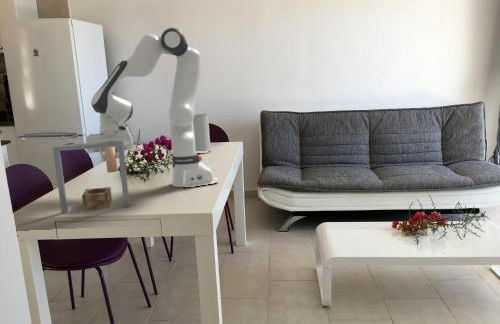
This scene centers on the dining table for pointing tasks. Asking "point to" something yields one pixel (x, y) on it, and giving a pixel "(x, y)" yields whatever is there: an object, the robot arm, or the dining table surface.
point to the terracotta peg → (110, 159)
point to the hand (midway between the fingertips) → (110, 157)
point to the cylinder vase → (201, 132)
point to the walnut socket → (97, 198)
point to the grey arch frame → (89, 146)
